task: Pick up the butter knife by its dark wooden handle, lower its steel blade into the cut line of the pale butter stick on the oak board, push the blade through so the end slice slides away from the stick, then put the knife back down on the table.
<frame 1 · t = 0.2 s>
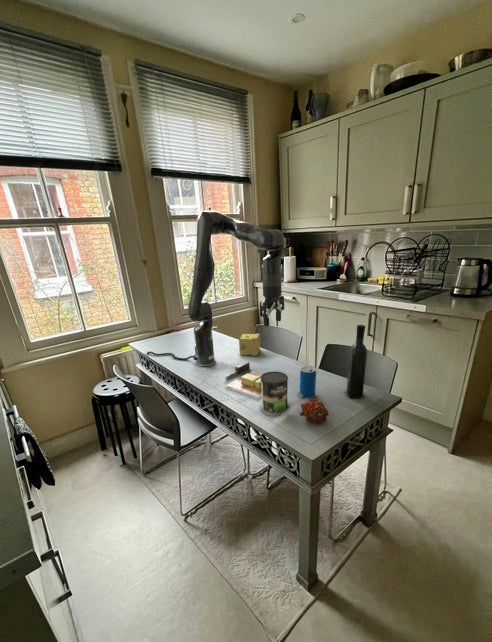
hand: (272, 323, 133), 29 cm above the table, tool pointing down, fingers open, 8 cm apart
coffee can: (274, 409, 125), on the table
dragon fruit: (313, 420, 117), on the table
butter slice: (260, 386, 140), point 1 cm above the table, touching board
board: (255, 384, 144), on the table
wine bottle: (354, 395, 132), on the table
butter: (250, 382, 143), point 1 cm above the table, touching board
beverage can: (307, 395, 134), on the table
cheese: (250, 352, 182), on the table
knife: (242, 373, 156), on the table
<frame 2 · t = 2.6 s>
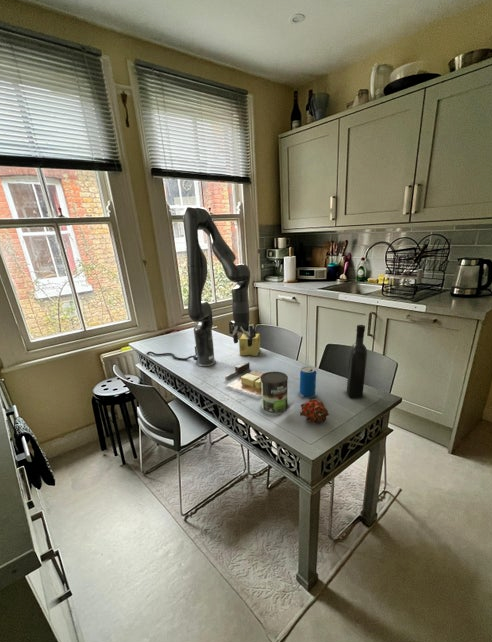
hand: (242, 344, 149), 16 cm above the table, tool pointing down, fingers open, 8 cm apart
nothing on the table moved.
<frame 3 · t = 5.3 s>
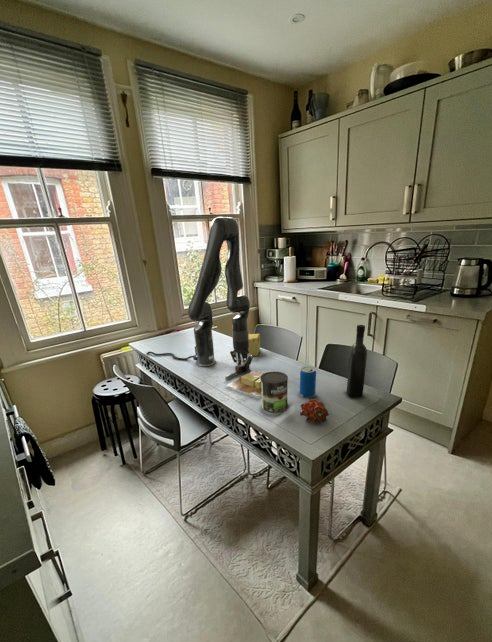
hand: (242, 371, 156), 1 cm above the table, tool pointing down, fingers closed on knife, 2 cm apart
knife: (242, 373, 156), on the table, touching gripper
everything else where it was.
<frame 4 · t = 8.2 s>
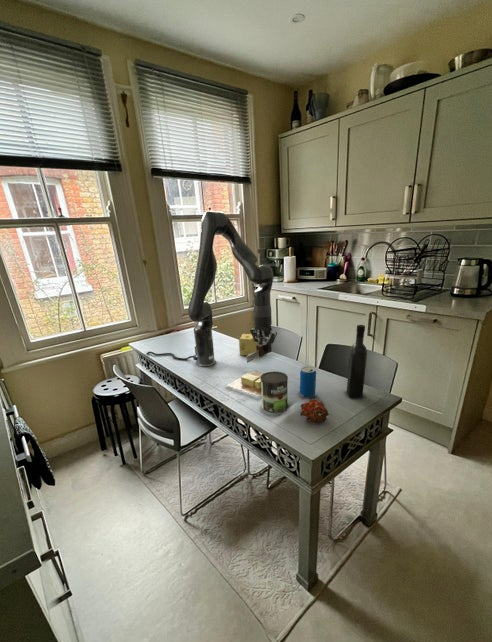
hand: (264, 351, 142), 15 cm above the table, tool pointing down, fingers closed on knife, 2 cm apart
knife: (264, 353, 143), point 13 cm above the table, touching gripper
everything else where it was.
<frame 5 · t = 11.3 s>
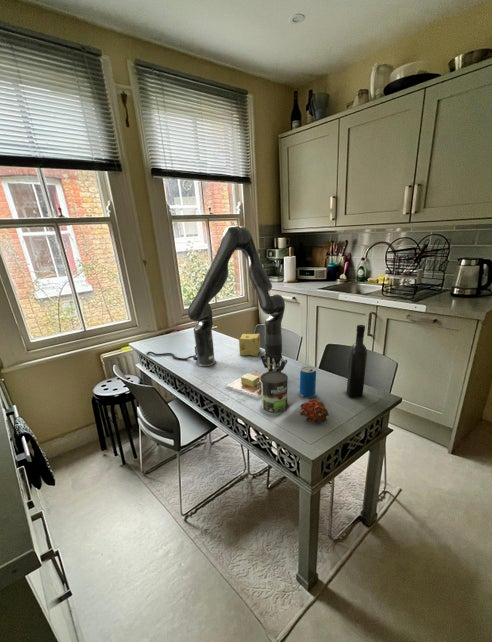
hand: (273, 377, 144), 3 cm above the table, tool pointing down, fingers closed on knife, 2 cm apart
butter slice: (265, 387, 138), point 2 cm above the table, touching board, knife
knife: (273, 380, 144), point 2 cm above the table, touching board, butter slice, gripper
everything else where it was.
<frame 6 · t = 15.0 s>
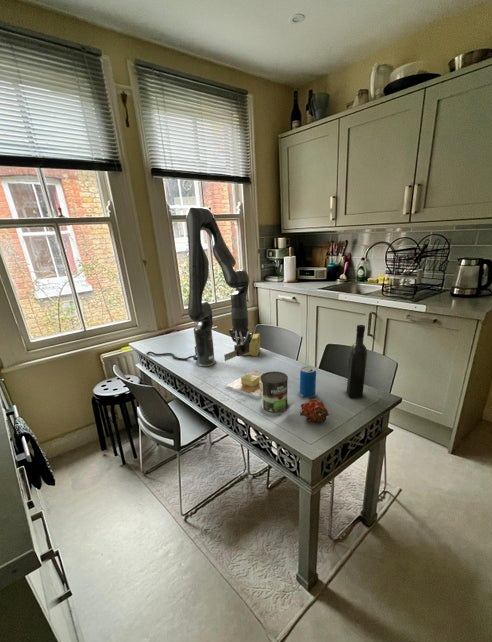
hand: (242, 351, 151), 12 cm above the table, tool pointing down, fingers closed on knife, 2 cm apart
butter slice: (265, 387, 138), point 1 cm above the table, touching board
knife: (242, 353, 152), point 11 cm above the table, touching gripper
everything else where it was.
when the fingers open (1 cm above the table, at t = 17.6 s): knife stays where it is, on the table.
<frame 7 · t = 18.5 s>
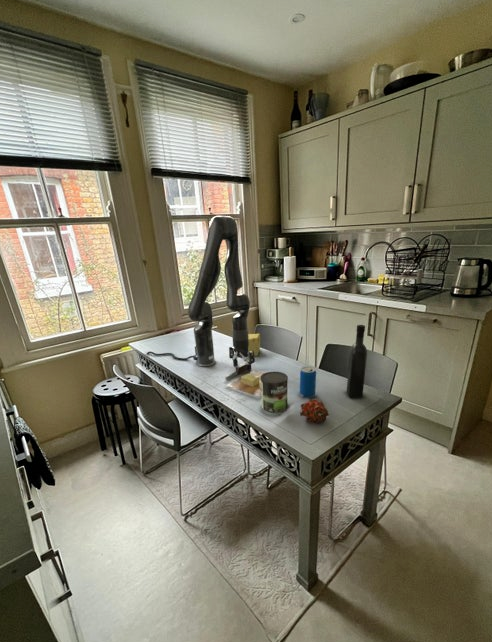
hand: (242, 368, 155), 3 cm above the table, tool pointing down, fingers open, 8 cm apart
knife: (243, 373, 156), on the table
everything else where it was.
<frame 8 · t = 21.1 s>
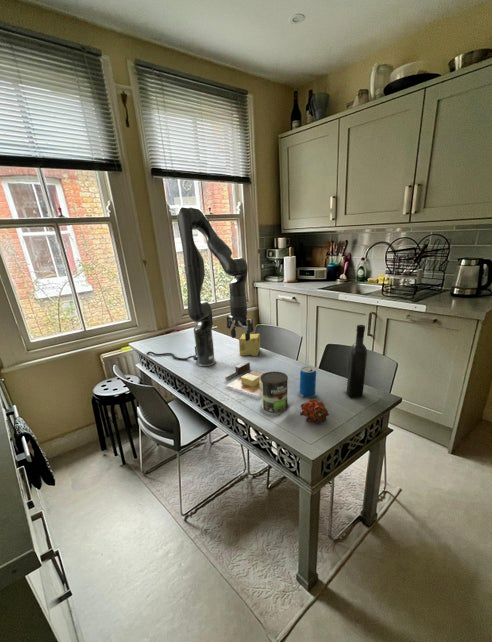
hand: (240, 339, 149), 18 cm above the table, tool pointing down, fingers open, 8 cm apart
nothing on the table moved.
at the end: butter slice moved 3.0 cm from its start; butter moved 0.0 cm from its start; the gripper is holding nothing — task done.
